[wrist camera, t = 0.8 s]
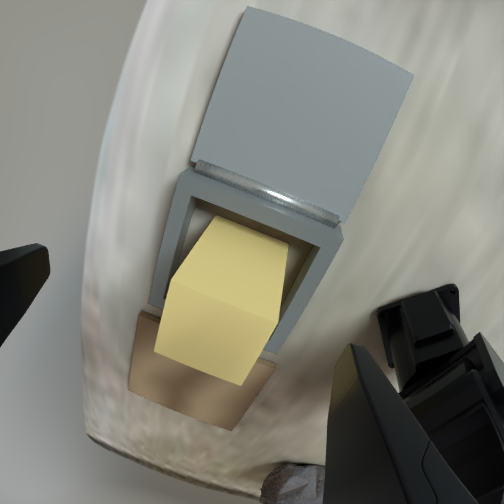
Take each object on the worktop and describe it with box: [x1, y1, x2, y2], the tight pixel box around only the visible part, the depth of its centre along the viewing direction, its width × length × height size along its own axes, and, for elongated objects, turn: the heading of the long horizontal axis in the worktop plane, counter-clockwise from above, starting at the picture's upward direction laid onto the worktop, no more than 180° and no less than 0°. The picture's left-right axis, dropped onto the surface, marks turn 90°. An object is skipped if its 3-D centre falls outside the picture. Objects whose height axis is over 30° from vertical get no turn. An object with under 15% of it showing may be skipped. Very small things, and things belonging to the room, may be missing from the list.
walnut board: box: [128, 311, 276, 431], centre depth 28 cm, size 12×12×1 cm
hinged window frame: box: [148, 6, 414, 354], centre depth 19 cm, size 10×20×2 cm, turn 160°
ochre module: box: [154, 215, 288, 386], centre depth 19 cm, size 5×5×8 cm
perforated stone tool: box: [259, 463, 325, 504], centre depth 32 cm, size 15×5×7 cm, turn 74°
